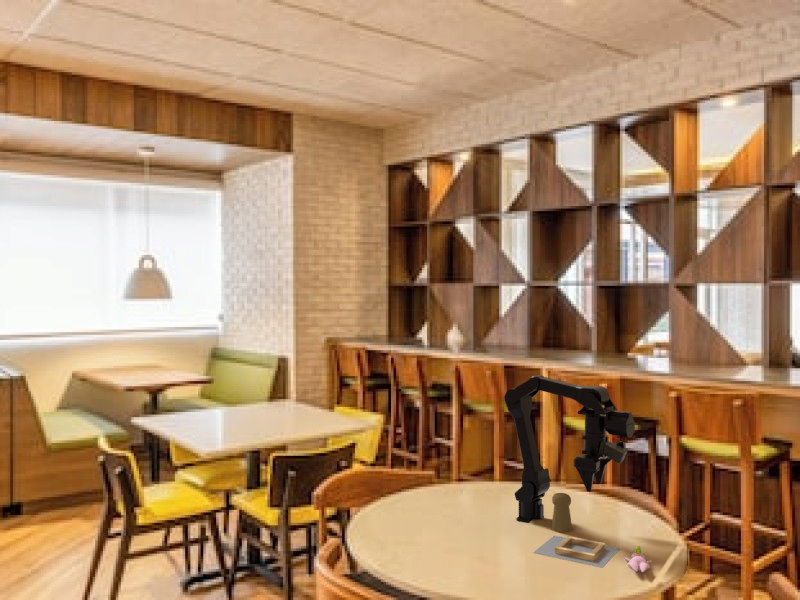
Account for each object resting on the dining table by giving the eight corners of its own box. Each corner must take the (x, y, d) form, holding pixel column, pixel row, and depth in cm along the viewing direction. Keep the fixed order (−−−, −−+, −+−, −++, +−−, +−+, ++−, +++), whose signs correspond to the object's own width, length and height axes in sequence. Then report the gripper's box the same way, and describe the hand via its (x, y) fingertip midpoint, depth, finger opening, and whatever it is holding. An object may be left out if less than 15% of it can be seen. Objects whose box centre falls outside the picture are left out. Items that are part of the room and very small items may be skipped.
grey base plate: (532, 556, 175) (532, 552, 175) (554, 539, 188) (554, 535, 188) (602, 571, 165) (602, 567, 165) (620, 552, 178) (620, 548, 178)
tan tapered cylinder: (573, 537, 189) (573, 497, 189) (551, 535, 190) (550, 496, 190) (572, 529, 195) (572, 491, 195) (550, 528, 196) (550, 490, 196)
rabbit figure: (624, 564, 174) (625, 577, 159) (624, 539, 174) (625, 551, 160) (651, 567, 172) (653, 580, 158) (650, 542, 173) (653, 553, 158)
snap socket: (554, 553, 175) (554, 547, 175) (568, 541, 183) (568, 536, 183) (593, 561, 169) (593, 555, 169) (605, 549, 177) (605, 543, 177)
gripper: (615, 442, 178) (613, 501, 179) (633, 429, 194) (631, 484, 194) (573, 436, 184) (572, 493, 185) (594, 424, 200) (593, 477, 200)
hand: (594, 487), depth 191 cm, fingers open, 9 cm apart
